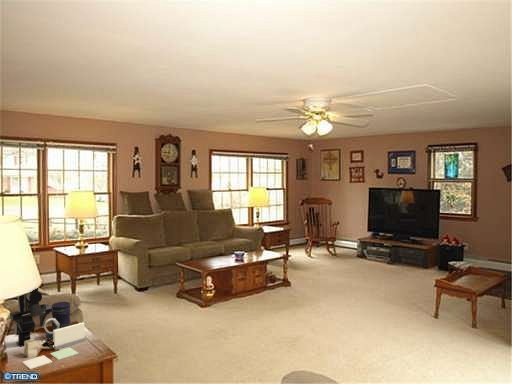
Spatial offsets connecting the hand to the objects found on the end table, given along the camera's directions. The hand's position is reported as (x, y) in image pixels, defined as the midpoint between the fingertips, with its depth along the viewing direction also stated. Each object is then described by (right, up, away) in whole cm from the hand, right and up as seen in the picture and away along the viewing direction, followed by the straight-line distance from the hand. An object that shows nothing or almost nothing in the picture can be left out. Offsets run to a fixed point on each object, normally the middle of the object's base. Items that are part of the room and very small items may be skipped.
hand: (31, 329), depth 210 cm
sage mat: (+16, -13, +2) cm, 21 cm away
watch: (0, -12, +21) cm, 25 cm away
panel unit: (+10, -12, +16) cm, 23 cm away
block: (0, -13, 0) cm, 13 cm away
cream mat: (+7, -14, -8) cm, 17 cm away
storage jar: (-1, -12, +34) cm, 36 cm away
